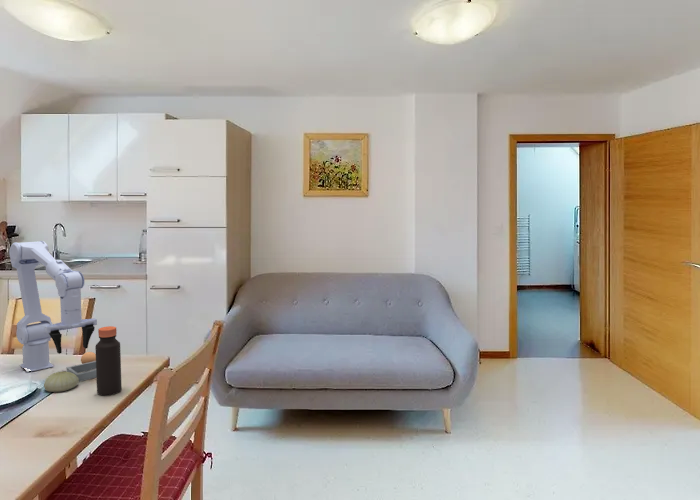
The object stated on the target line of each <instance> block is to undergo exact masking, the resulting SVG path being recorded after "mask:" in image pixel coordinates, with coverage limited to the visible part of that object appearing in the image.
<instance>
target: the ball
mask: <svg viewBox="0 0 700 500" xmlns="http://www.w3.org/2000/svg"><path fill="white" fill-rule="evenodd" d="M93 361H96V352H95V353H94V352H92V351H87V352H85V353H83V354H82V355H81V357H80V362H81V364H84V363H89V362H93Z"/></svg>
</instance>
